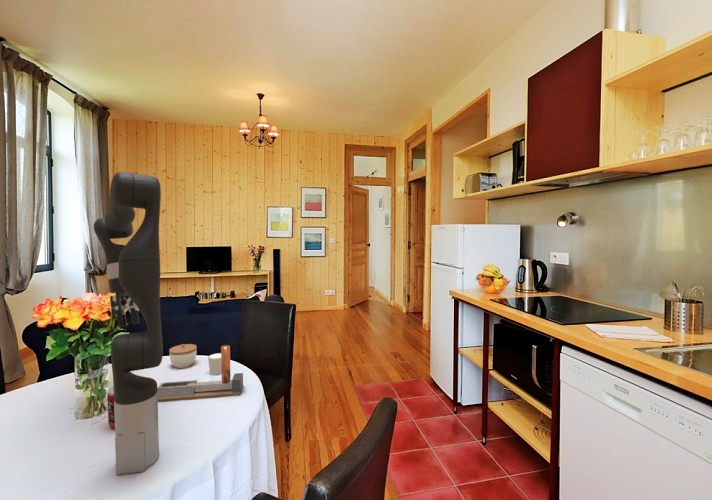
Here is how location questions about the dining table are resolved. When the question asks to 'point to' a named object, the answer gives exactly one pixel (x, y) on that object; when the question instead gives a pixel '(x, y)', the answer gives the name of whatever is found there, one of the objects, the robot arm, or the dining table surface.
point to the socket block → (237, 382)
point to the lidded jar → (183, 355)
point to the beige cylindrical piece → (215, 364)
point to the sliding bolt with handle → (226, 381)
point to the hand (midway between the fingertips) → (129, 325)
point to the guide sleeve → (175, 389)
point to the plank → (201, 395)
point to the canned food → (111, 408)
